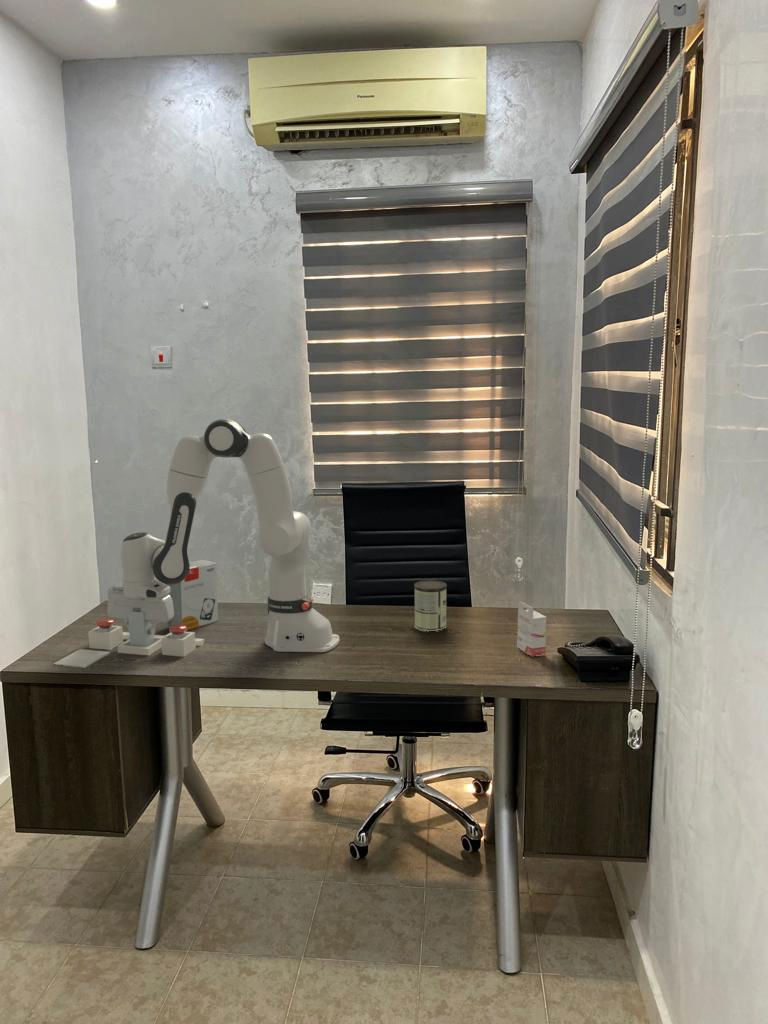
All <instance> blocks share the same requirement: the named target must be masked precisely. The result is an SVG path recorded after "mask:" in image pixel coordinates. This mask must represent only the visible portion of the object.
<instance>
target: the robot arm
mask: <svg viewBox="0 0 768 1024" xmlns="http://www.w3.org/2000/svg"><path fill="white" fill-rule="evenodd" d="M246 432H247V431H246V429H245V428H244V426H242V425H241V424H240V423H238V422H236V421H235V420H232V419H228V418H222V419H216V420H215V421H213V422H211V423H210V424H209V425H208V426H207V427H206V429H205V431H204V434H203V435H202V436H200V435H193V434H191V435H189V434H188V435H185V436H183V437H181V438H180V440H179V441H178V443H177V445H176V448H175V450H174V453H173V455H172V458H171V461H170V464H169V465H170V466H169V469H168V474H167V480H166V481H167V482H166V494H167V498H168V499H167V500H168V503H169V504H168V505H169V511H170V515H169V522H168V527H167V531H166V535H165V536H166V537H165V540H164V539H160V538H157V537H155V536H153V535H151V534H150V533H148V532H146V531H145V532H142V531H141V532H136V533H132V534H130V535H127V536H126V537H125V538H124V539H123V541H122V543H121V546H120V547H121V548H120V559H121V568H122V571H123V573H122V586H114V585H113V586H112V587H110V588H109V589H108V590H107V604H106V607H107V610H106V611H107V615H108V617H109V618H111V619H123V623H124V624H125V626H126V628H127V632H128V633H129V621H128V611H133V608H141V612H145V620H148V621H150V624H152V625H151V627H150V628H149V629H147V632H148V635H153V634H154V635H156V629H155V628H156V627H157V625H158V624H159V622H162V623H167V622H168V621H169V620H171V619H172V618H173V616H174V607H173V601H172V598H171V596H170V595H169V594H168V593H170V587H169V586H167V585H165V584H168V585H172V584H177V583H179V582H181V581H183V580H184V579H185V578H186V576H187V575H188V573H189V569H190V565H189V562H190V560H189V555H188V546H189V542H190V541H189V540H190V535H191V532H192V531H191V530H192V527H193V521H194V518H195V515H196V511H197V509H198V506H199V504H200V501H201V499H202V496H203V493H204V490H205V488H206V484H207V481H208V476H209V473H210V467H211V464H212V463H213V461H214V460H215V459H216V458H239V459H240V460H241V462H242V463H243V465H244V468H245V470H246V474H247V477H248V481H249V485H250V486H251V491H252V493H253V494H252V495H253V497H254V500H255V504H256V512H257V519H258V521H257V522H258V530H259V533H258V544H259V547H260V549H261V550H262V551H263V553H265V554H266V555H268V556H270V557H271V560H270V564H269V567H268V568H269V569H268V573H267V575H268V576H267V577H268V596H267V614H268V624H267V631H266V635H265V639H264V643H265V645H267V646H268V647H269V648H272V649H273V651H274V652H282V653H283V652H287V653H289V652H293V653H295V652H296V653H326V652H329V651H331V650H333V649H335V648H336V647H337V646H338V645H339V643H340V636H339V634H335V633H333V629H332V626H331V622H330V620H329V619H328V618H326V617H325V616H324V615H322V614H321V613H320V612H319V611H317V610H316V609H314V608H313V602H314V597H311V598H310V597H309V596H308V595H307V587H306V586H307V584H306V577H307V576H306V575H307V574H306V571H307V562H308V561H307V560H308V553H309V543H310V534H311V531H312V523H311V521H310V519H309V517H308V516H307V515H306V514H304V513H303V512H301V511H294V509H293V500H292V499H293V496H292V494H293V489H292V486H291V483H290V479H289V476H288V474H287V470H286V467H285V464H284V461H283V458H282V456H281V453H280V451H279V449H278V448H279V447H278V446H277V445H276V442H275V441H274V438H272V436H271V435H269V434H267V433H262V432H261V433H260V432H257V433H254V434H248V433H246ZM155 578H156V579H155ZM157 580H158V581H157Z"/></svg>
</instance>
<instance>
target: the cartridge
mask: <svg viewBox="0 0 768 1024" xmlns="http://www.w3.org/2000/svg"><path fill="white" fill-rule="evenodd" d="M128 621H129V637H130V646H136V647H149V646H150V645H152V644H153V643H154V635H155V634H153V635H148V632H147V629H149V628H150V627H151V625H152V624H150V621H148V620H145V612H141V608H133V611H128Z"/></svg>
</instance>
